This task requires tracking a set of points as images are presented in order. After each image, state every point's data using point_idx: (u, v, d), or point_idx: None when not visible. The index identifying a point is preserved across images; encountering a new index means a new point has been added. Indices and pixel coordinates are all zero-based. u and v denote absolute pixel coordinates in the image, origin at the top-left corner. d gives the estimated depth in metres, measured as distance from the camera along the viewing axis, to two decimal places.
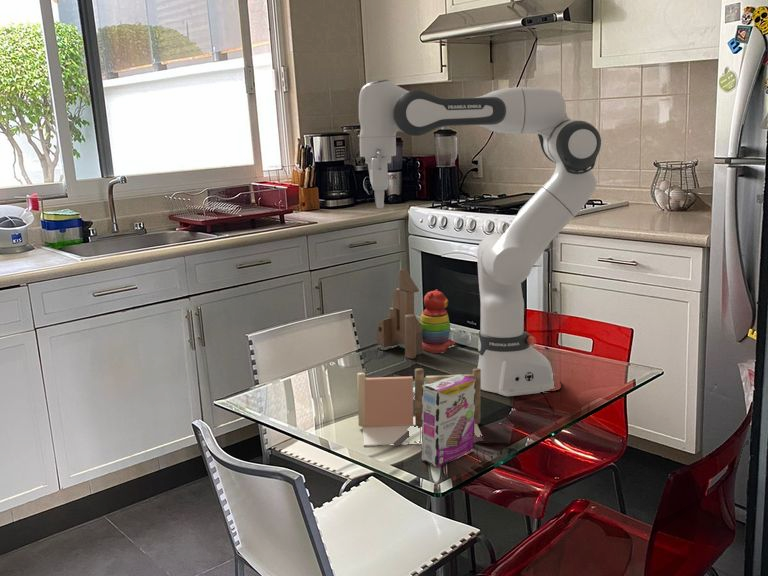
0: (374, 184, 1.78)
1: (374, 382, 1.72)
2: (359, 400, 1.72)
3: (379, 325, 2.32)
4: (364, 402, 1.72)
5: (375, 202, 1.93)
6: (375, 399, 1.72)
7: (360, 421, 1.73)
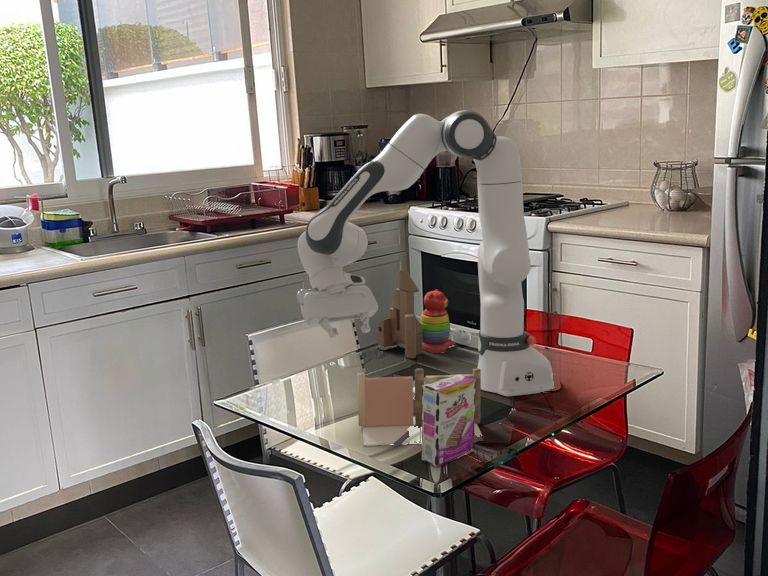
0: (304, 320, 1.84)
1: (374, 382, 1.72)
2: (359, 400, 1.72)
3: (379, 325, 2.32)
4: (364, 402, 1.72)
5: (362, 331, 1.90)
6: (375, 399, 1.72)
7: (360, 421, 1.73)
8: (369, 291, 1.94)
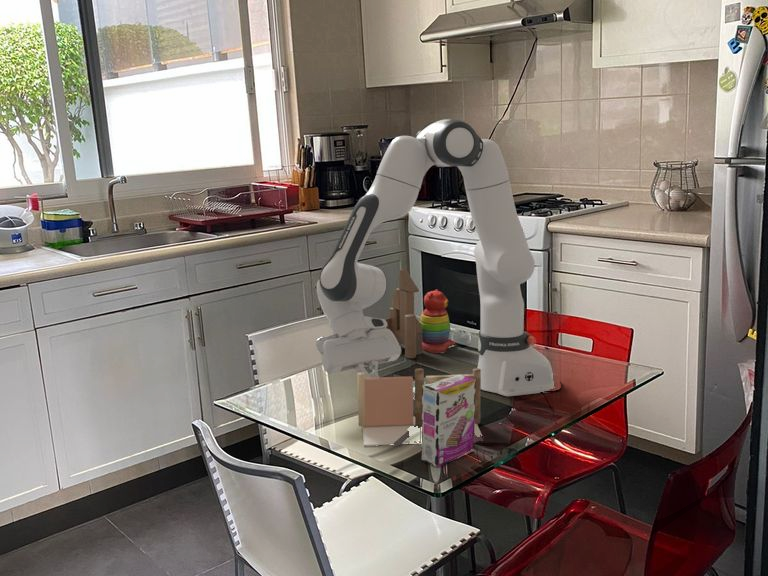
0: (325, 369, 1.79)
1: (374, 382, 1.72)
2: (359, 400, 1.72)
3: None
4: (364, 402, 1.72)
5: None
6: (375, 399, 1.72)
7: (360, 421, 1.73)
8: (391, 334, 1.88)
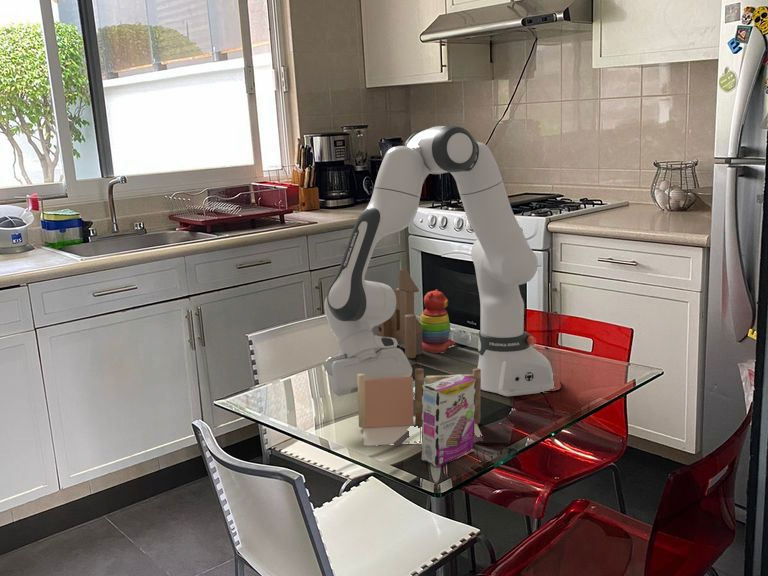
0: (333, 391, 1.73)
1: (374, 383, 1.71)
2: (360, 401, 1.71)
3: (379, 325, 2.32)
4: (364, 403, 1.72)
5: None
6: (375, 399, 1.72)
7: (360, 422, 1.73)
8: (402, 354, 1.82)
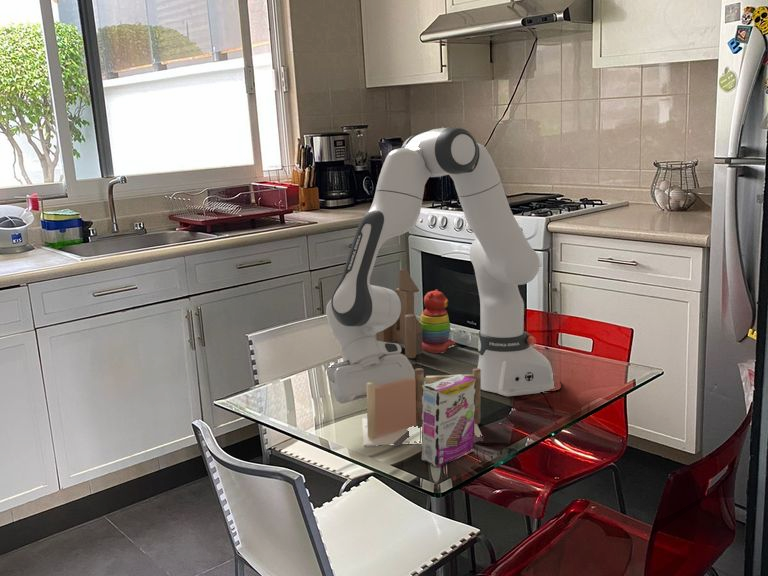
0: (336, 398, 1.69)
1: (383, 390, 1.67)
2: (371, 411, 1.66)
3: None
4: (375, 412, 1.66)
5: None
6: (384, 407, 1.67)
7: (371, 433, 1.67)
8: (406, 360, 1.78)
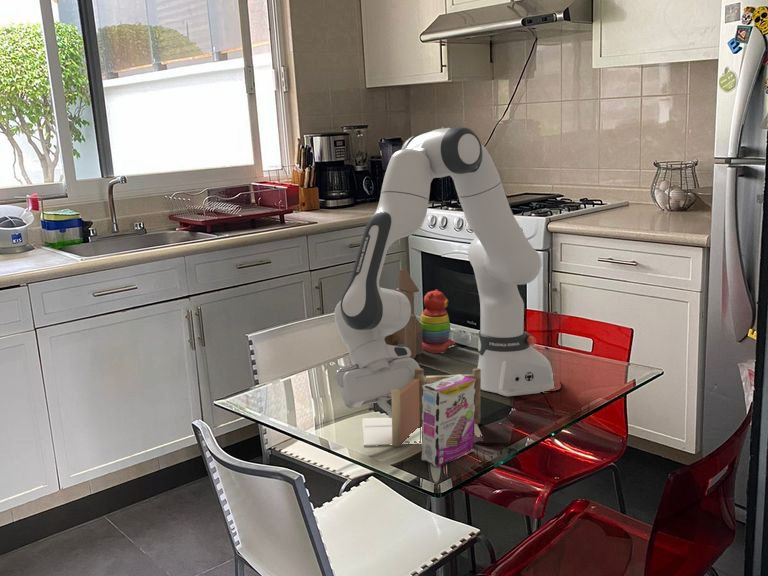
0: (345, 403, 1.66)
1: (403, 394, 1.63)
2: (398, 418, 1.61)
3: None
4: (400, 419, 1.62)
5: None
6: (404, 412, 1.64)
7: (398, 440, 1.62)
8: (415, 364, 1.75)
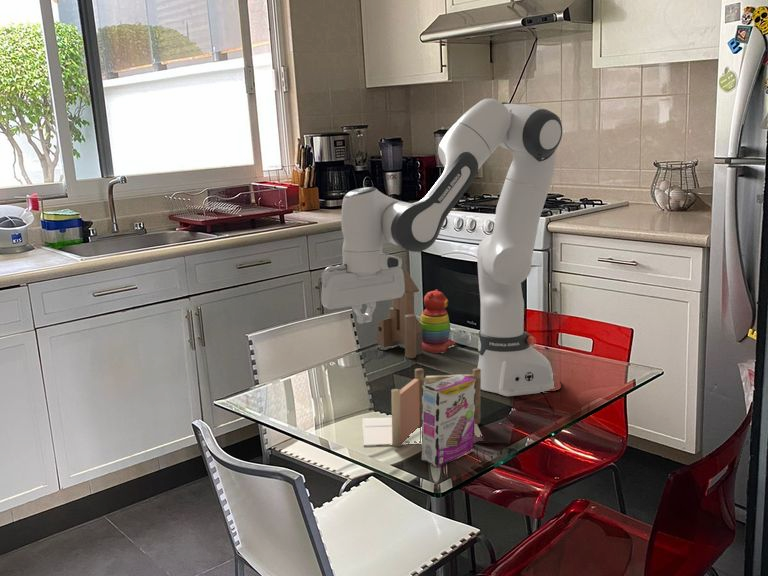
0: (321, 301, 1.68)
1: (403, 394, 1.63)
2: (398, 418, 1.61)
3: (379, 325, 2.32)
4: (400, 419, 1.62)
5: None
6: (404, 412, 1.64)
7: (398, 440, 1.62)
8: (401, 275, 1.74)
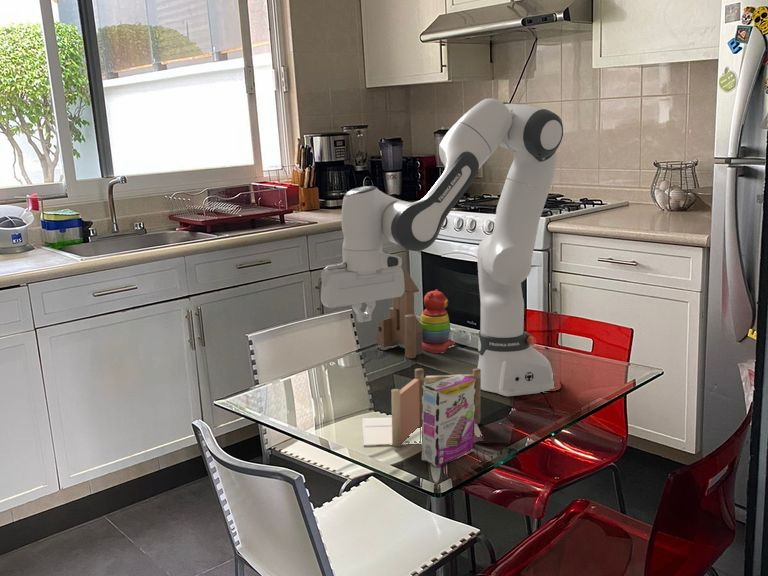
0: (321, 300, 1.68)
1: (403, 394, 1.63)
2: (398, 418, 1.61)
3: (379, 325, 2.32)
4: (400, 419, 1.62)
5: None
6: (404, 412, 1.64)
7: (398, 440, 1.62)
8: (401, 274, 1.74)
